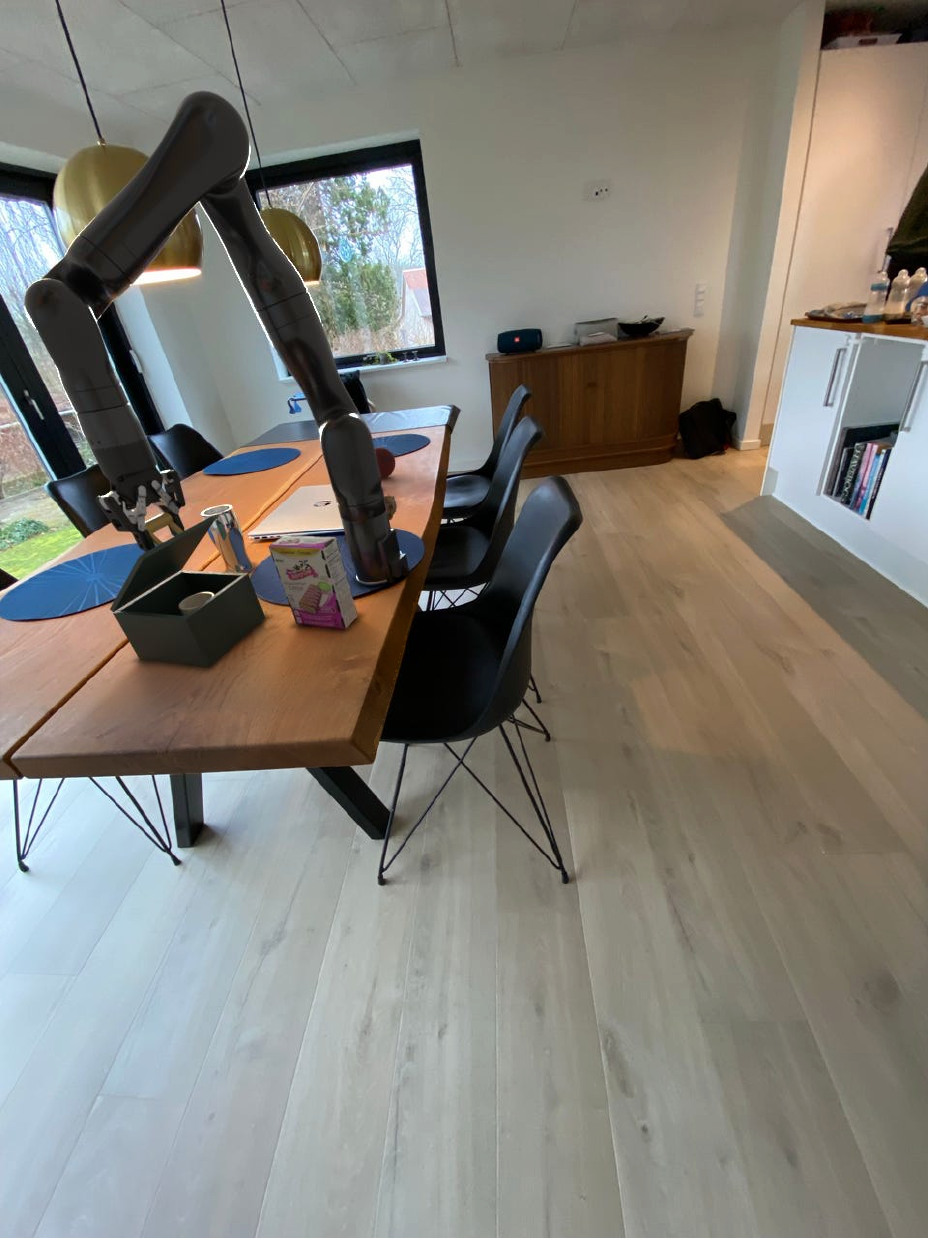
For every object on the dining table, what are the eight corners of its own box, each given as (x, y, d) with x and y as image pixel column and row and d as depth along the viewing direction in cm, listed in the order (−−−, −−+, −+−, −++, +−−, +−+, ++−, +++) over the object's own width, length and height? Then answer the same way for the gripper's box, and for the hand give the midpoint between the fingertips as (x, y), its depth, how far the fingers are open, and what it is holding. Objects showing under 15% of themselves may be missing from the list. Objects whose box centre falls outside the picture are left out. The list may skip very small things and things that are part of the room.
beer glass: (260, 562, 124) (238, 503, 116) (247, 576, 118) (223, 514, 110) (234, 564, 125) (210, 505, 117) (220, 578, 119) (193, 517, 111)
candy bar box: (295, 626, 96) (265, 546, 87) (309, 612, 99) (283, 534, 91) (346, 631, 92) (321, 547, 83) (359, 616, 96) (337, 535, 87)
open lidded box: (266, 618, 100) (248, 573, 94) (209, 668, 87) (185, 619, 82) (201, 613, 105) (181, 570, 100) (139, 659, 93) (112, 613, 87)
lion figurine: (398, 524, 134) (391, 490, 129) (403, 530, 129) (396, 496, 125) (343, 538, 130) (334, 504, 126) (346, 545, 126) (337, 510, 121)
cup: (236, 627, 96) (221, 592, 92) (214, 645, 92) (197, 610, 88) (211, 625, 98) (195, 591, 94) (188, 643, 94) (171, 608, 90)
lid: (215, 518, 90) (190, 494, 88) (143, 559, 77) (113, 531, 76) (181, 569, 100) (158, 548, 98) (113, 612, 87) (85, 589, 86)
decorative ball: (364, 483, 170) (357, 452, 164) (374, 473, 178) (367, 444, 173) (393, 480, 168) (387, 450, 162) (401, 471, 176) (395, 441, 171)
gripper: (93, 452, 70) (148, 563, 79) (173, 426, 81) (213, 526, 90) (55, 454, 72) (112, 561, 81) (138, 429, 83) (180, 526, 92)
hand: (165, 542), depth 85 cm, fingers closed on lid, 5 cm apart
